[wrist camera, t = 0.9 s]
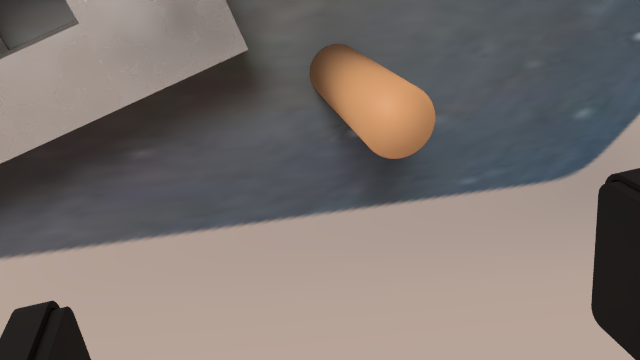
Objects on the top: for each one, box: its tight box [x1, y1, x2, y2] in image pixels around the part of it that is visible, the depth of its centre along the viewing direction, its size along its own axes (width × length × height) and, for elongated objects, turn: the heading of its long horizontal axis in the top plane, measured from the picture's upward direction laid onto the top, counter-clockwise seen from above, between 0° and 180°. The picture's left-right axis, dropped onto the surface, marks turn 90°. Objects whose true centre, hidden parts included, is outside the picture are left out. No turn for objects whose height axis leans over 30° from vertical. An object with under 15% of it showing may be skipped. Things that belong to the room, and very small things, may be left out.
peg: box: [310, 44, 435, 159], centre depth 27 cm, size 3×3×10 cm
